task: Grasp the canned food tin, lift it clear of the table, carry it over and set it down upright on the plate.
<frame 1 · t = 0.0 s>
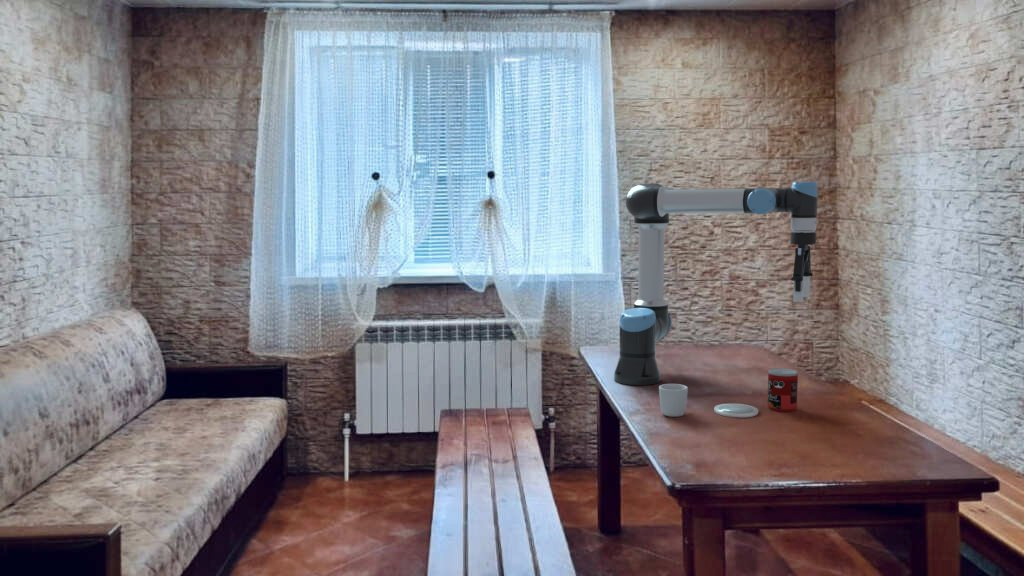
hand: (801, 299, 257), 28 cm above the table, fingers open, 13 cm apart
cup: (675, 414, 231), on the table
canned food: (781, 409, 235), on the table
plate: (736, 411, 232), on the table
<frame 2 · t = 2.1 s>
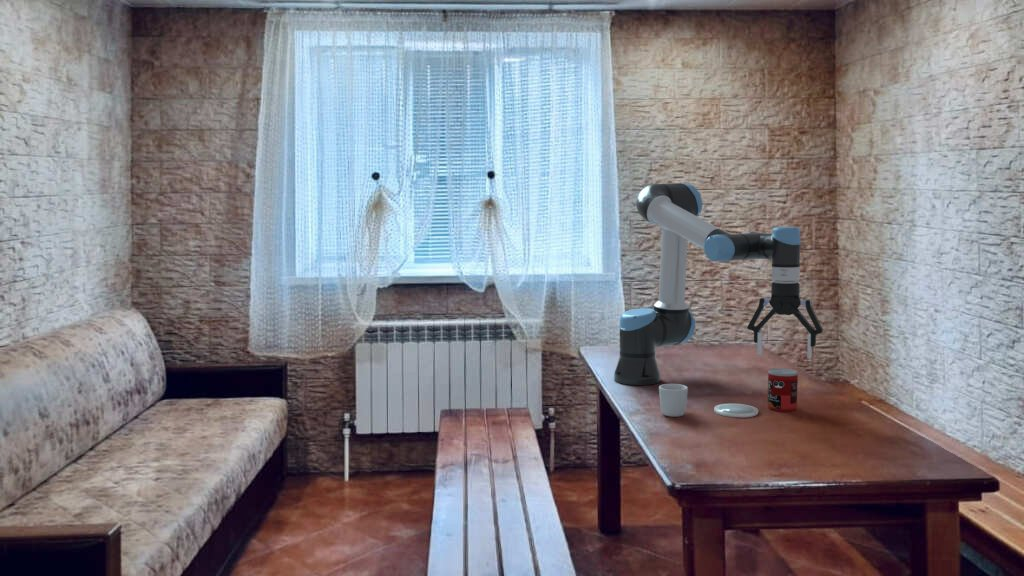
hand: (784, 356, 233), 15 cm above the table, fingers open, 13 cm apart
nothing on the table moved.
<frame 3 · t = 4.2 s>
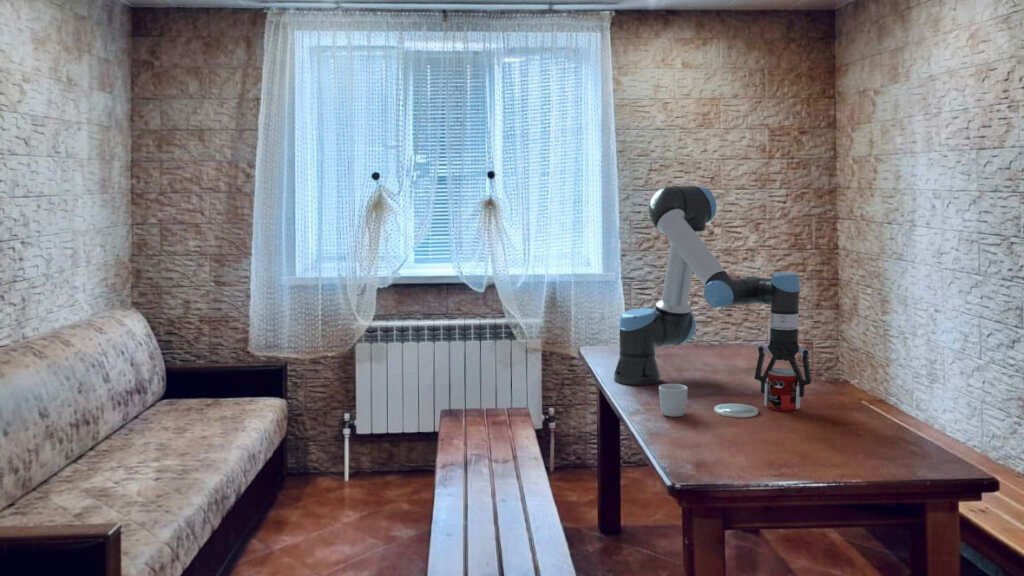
hand: (782, 405, 235), 1 cm above the table, fingers closed on canned food, 8 cm apart
canned food: (781, 409, 235), on the table, touching gripper
everything else where it was.
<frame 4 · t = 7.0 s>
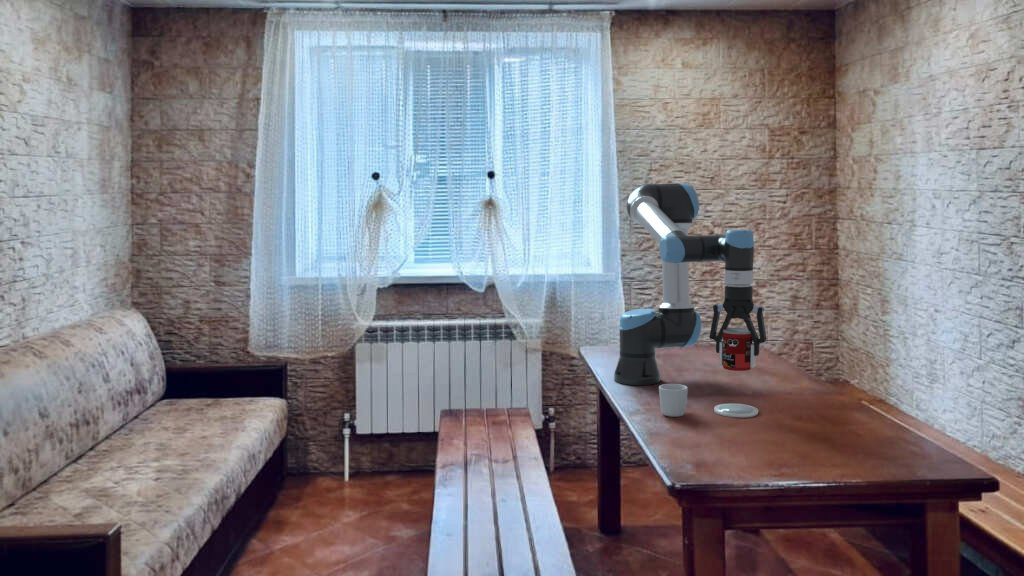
hand: (737, 365, 230), 13 cm above the table, fingers closed on canned food, 8 cm apart
canned food: (737, 368, 230), point 12 cm above the table, touching gripper
everything else where it was.
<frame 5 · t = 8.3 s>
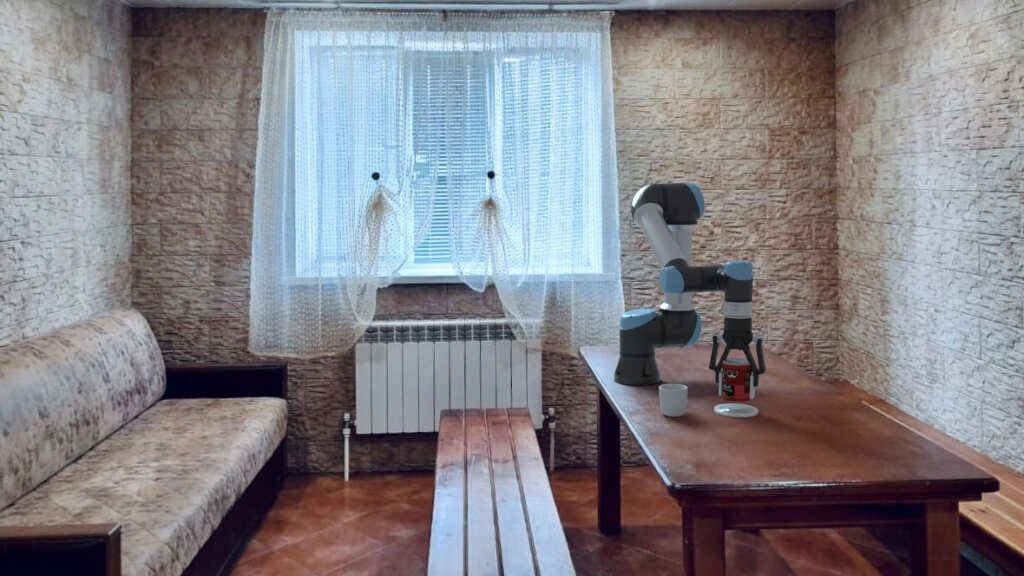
hand: (736, 396, 231), 5 cm above the table, fingers closed on canned food, 8 cm apart
canned food: (736, 399, 231), point 4 cm above the table, touching gripper
everything else where it was.
when the fingers open (3 cm above the table, at t = 9.6 s): canned food stays where it is, resting on plate.
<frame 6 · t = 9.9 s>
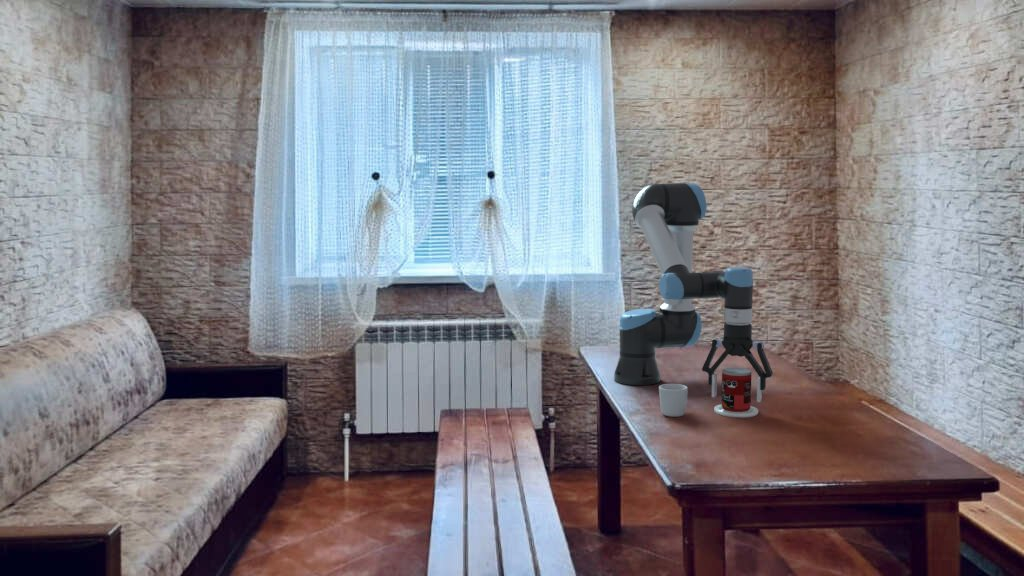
hand: (736, 398, 232), 4 cm above the table, fingers open, 12 cm apart
canned food: (735, 409, 232), point 1 cm above the table, touching plate
everything else where it was.
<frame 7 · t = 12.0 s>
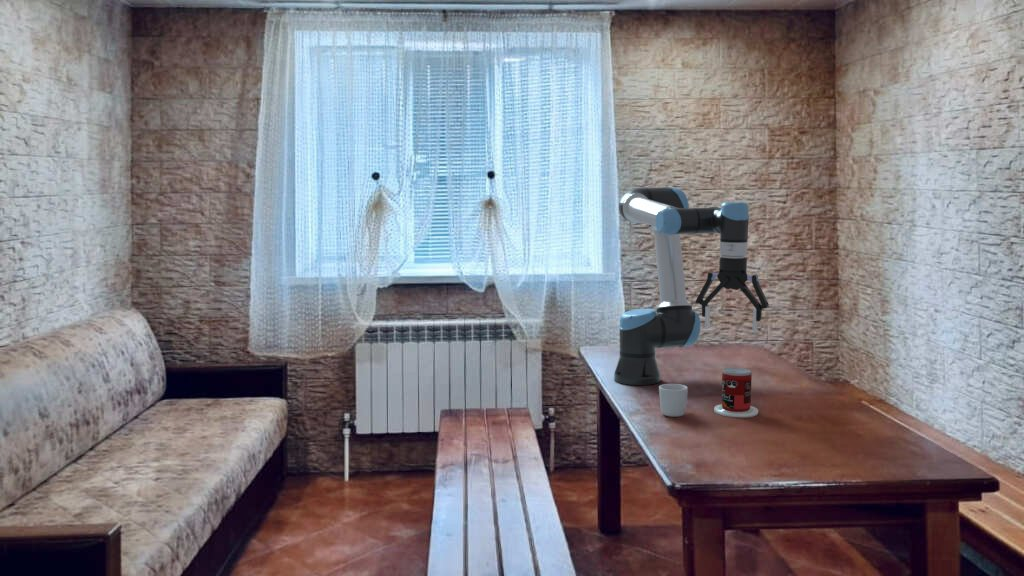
hand: (730, 330, 236), 22 cm above the table, fingers open, 13 cm apart
nothing on the table moved.
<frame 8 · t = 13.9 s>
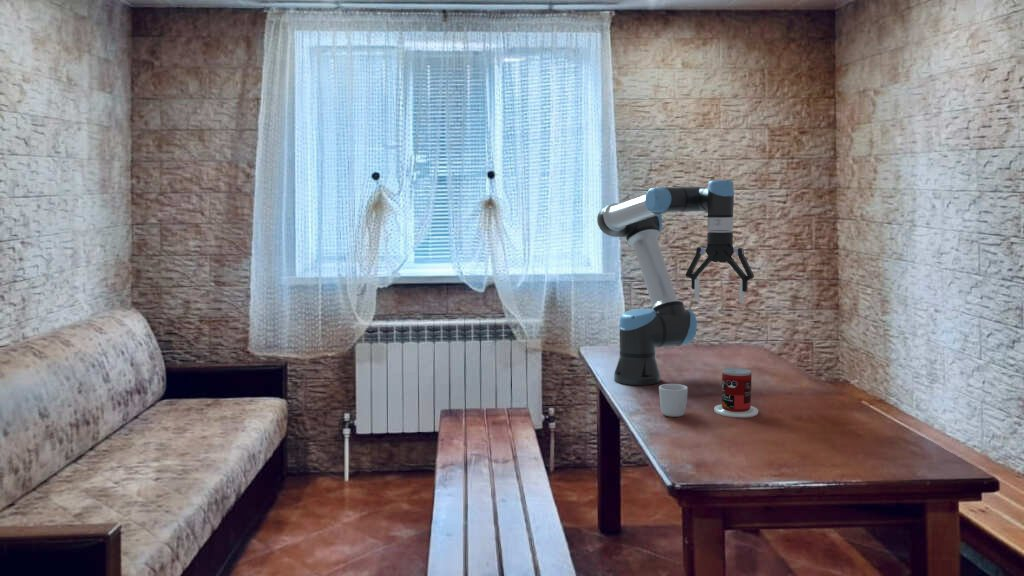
hand: (718, 301, 250), 29 cm above the table, fingers open, 13 cm apart
nothing on the table moved.
at the end: canned food inside the target area on the plate (0.0 cm from its centre), point 0.7 cm above the plate's base; canned food tilted 0°; the gripper is holding nothing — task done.
